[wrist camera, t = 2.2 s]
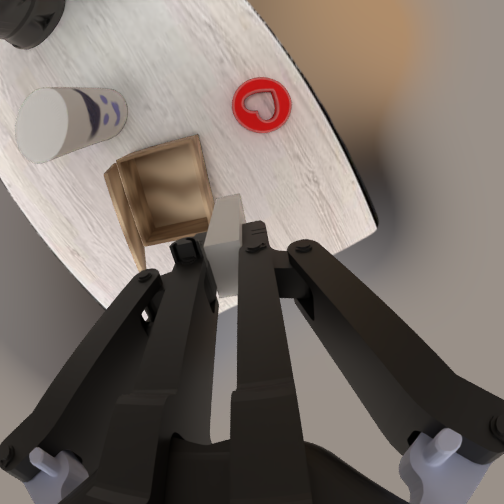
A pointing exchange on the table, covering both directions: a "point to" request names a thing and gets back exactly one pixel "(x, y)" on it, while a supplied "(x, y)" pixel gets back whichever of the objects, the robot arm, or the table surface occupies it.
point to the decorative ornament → (252, 118)
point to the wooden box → (168, 190)
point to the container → (67, 120)
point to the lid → (125, 216)
